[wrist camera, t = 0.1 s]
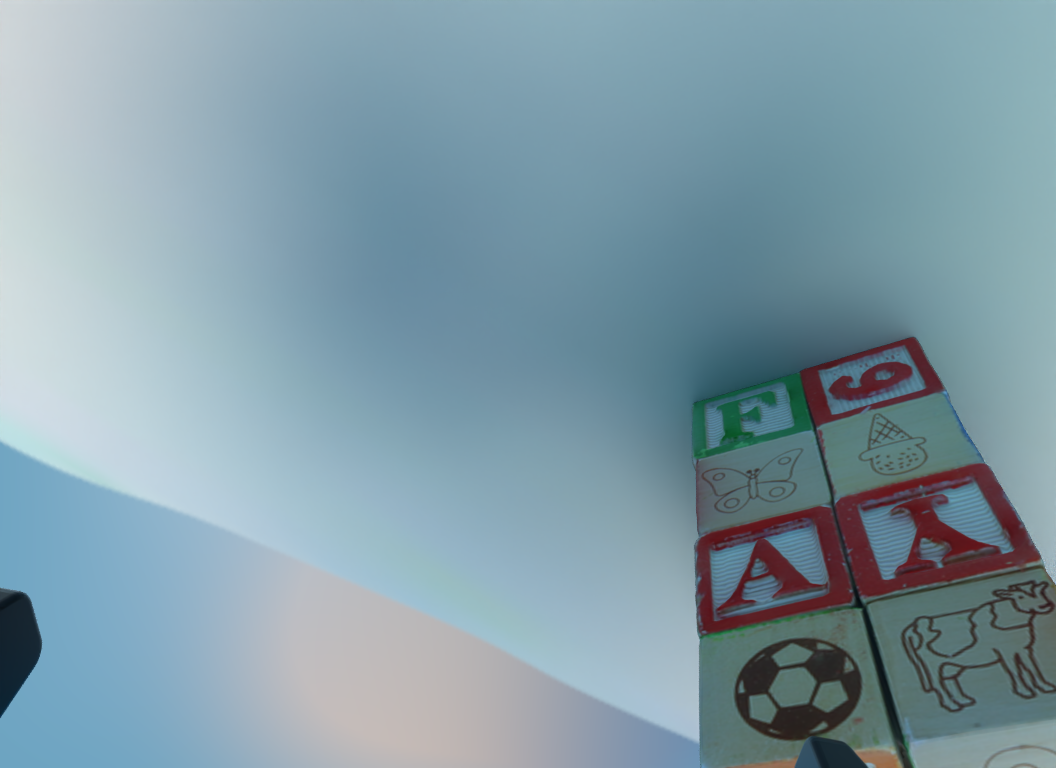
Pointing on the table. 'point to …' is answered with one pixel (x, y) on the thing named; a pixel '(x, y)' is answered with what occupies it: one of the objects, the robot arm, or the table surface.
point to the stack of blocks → (864, 577)
